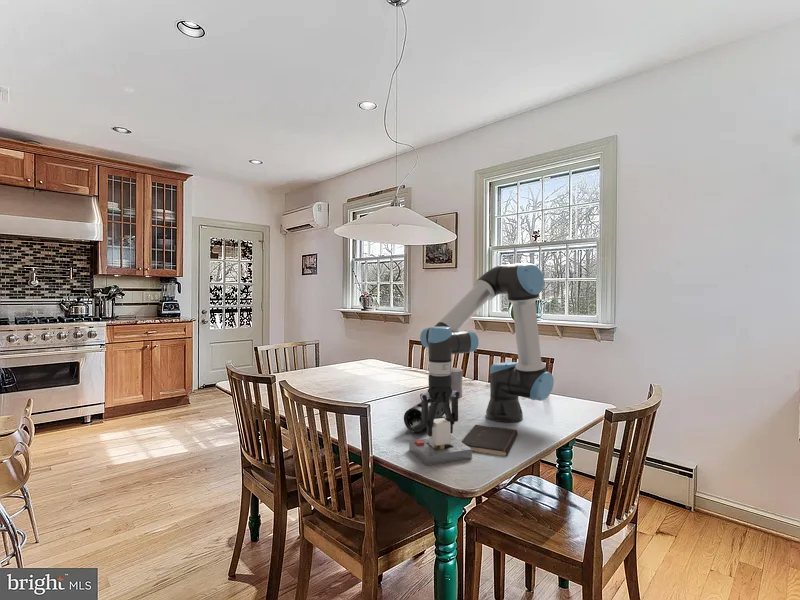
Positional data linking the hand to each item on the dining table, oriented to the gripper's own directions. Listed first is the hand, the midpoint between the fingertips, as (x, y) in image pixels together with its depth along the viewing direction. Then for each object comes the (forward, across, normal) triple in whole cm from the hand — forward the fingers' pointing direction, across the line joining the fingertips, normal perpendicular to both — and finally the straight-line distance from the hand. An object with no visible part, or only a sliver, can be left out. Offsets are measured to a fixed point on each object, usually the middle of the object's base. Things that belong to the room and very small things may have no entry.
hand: (439, 444), depth 142 cm
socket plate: (+3, 0, 0) cm, 3 cm away
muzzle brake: (+4, +10, +30) cm, 32 cm away
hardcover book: (+4, +22, +4) cm, 23 cm away
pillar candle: (+4, +41, +67) cm, 79 cm away
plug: (+1, 0, 0) cm, 1 cm away
